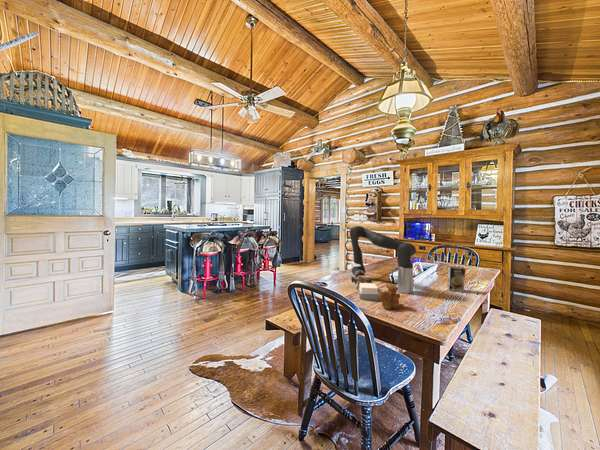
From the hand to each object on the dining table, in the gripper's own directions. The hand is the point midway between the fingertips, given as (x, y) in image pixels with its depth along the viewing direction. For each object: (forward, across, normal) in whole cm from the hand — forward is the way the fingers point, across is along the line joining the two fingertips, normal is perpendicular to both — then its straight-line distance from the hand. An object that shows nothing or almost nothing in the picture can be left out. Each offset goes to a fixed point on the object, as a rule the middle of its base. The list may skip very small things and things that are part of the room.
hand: (362, 282), depth 175 cm
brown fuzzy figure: (+24, +14, +6) cm, 29 cm away
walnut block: (-2, 0, +6) cm, 6 cm away
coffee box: (-14, +65, +6) cm, 67 cm away
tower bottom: (+10, +3, +6) cm, 12 cm away
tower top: (+10, +3, +2) cm, 11 cm away
